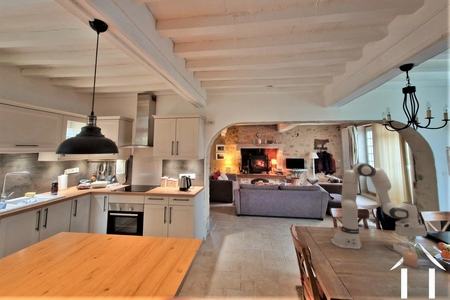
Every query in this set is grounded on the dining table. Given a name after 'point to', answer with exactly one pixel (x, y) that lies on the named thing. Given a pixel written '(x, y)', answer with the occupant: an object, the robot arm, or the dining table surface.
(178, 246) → the dining table surface
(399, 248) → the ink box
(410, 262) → the brown rounded lump
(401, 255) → the mat
